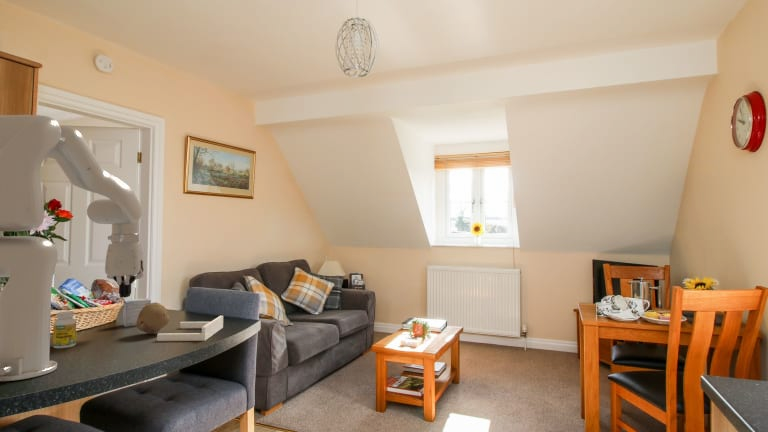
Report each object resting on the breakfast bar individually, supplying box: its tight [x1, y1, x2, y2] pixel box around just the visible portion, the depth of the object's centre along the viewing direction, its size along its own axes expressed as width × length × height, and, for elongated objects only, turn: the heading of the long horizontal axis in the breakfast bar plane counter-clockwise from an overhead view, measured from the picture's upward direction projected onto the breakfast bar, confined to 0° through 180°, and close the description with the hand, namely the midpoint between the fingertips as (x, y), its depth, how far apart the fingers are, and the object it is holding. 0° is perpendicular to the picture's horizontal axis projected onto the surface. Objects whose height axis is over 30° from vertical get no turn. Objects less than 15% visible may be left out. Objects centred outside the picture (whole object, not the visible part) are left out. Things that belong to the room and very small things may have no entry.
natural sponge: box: [136, 302, 170, 335], centre depth 142 cm, size 9×9×10 cm
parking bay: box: [156, 315, 224, 342], centre depth 143 cm, size 18×14×4 cm
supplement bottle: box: [52, 310, 77, 349], centre depth 127 cm, size 5×5×10 cm
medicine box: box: [122, 297, 152, 328], centre depth 156 cm, size 8×4×9 cm, turn 130°
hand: (125, 296), depth 142 cm, fingers closed
